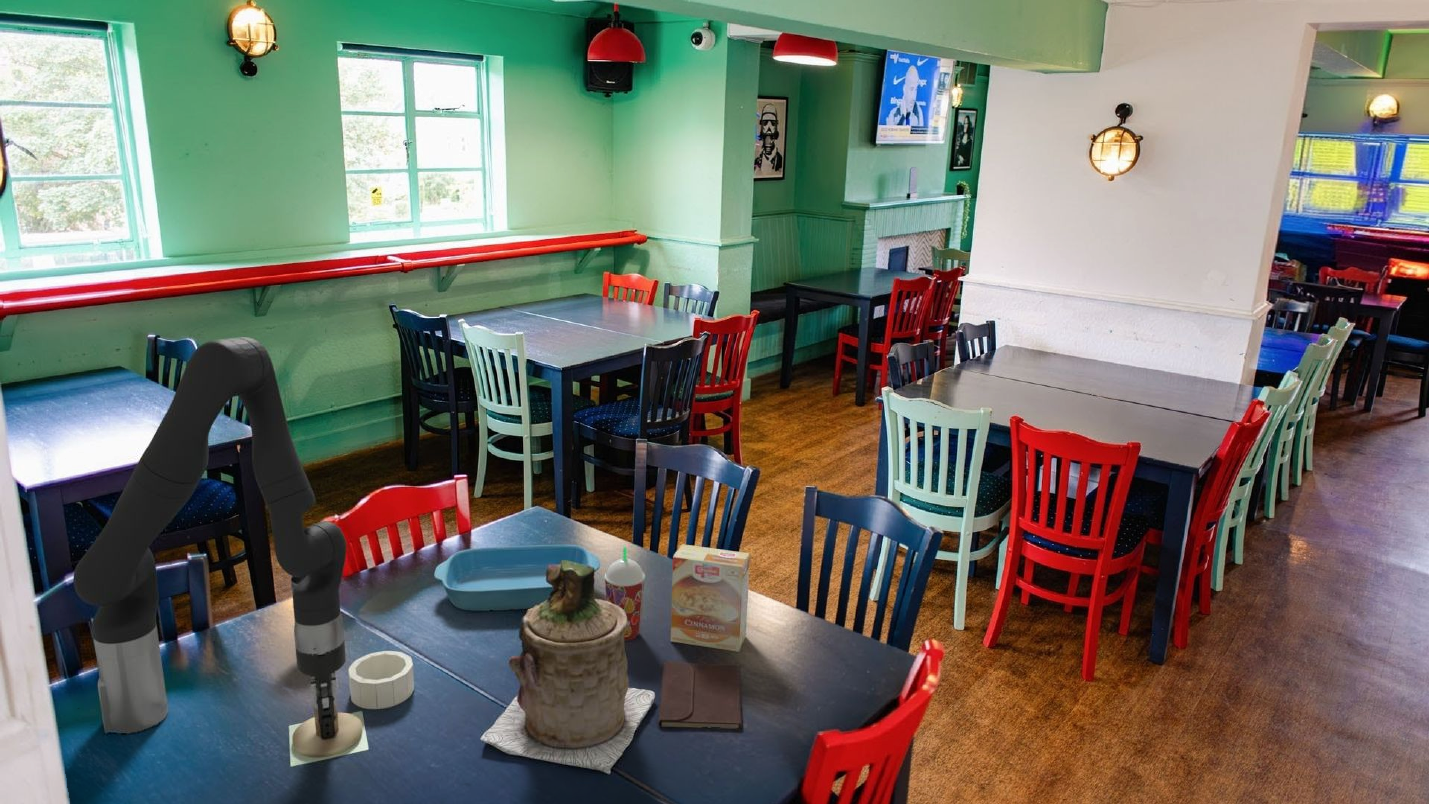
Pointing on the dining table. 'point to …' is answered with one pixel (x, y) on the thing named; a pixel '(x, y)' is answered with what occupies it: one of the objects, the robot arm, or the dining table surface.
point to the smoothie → (626, 591)
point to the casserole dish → (505, 575)
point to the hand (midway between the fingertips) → (327, 730)
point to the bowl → (381, 679)
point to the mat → (300, 759)
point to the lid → (313, 746)
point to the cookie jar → (571, 679)
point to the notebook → (700, 695)
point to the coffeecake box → (709, 597)
